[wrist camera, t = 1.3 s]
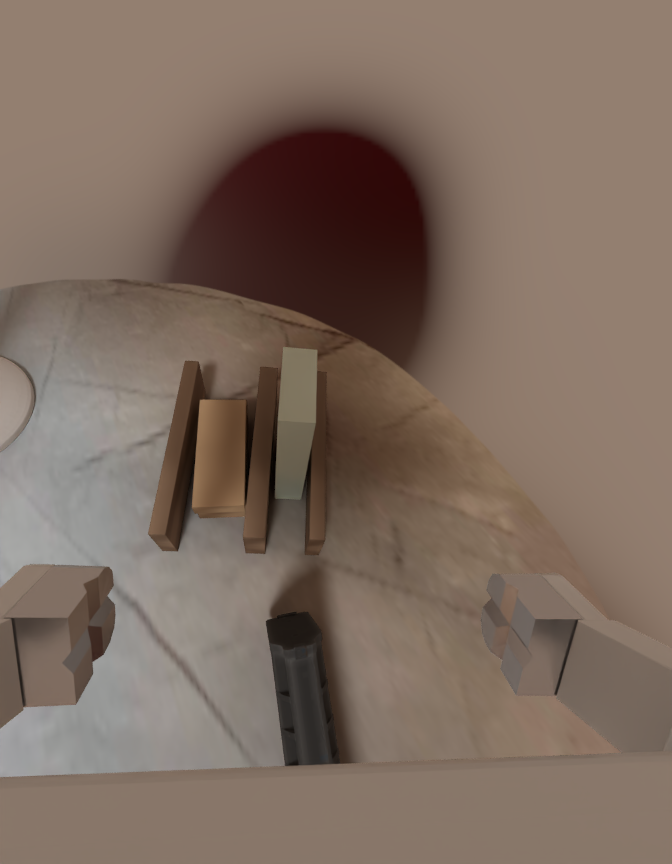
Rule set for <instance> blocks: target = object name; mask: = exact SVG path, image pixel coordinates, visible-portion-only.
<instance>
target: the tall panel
mask: <svg viewBox="0 0 672 864" xmlns="http://www.w3.org/2000/svg"><path fill="white" fill-rule="evenodd" d="M316 390H317V350H313V349H302V348H290V347H283V356H282V370H281V384H280V398H279V411H278V429H277V454H276V478H275V499H298V500H301V497H302V492H303V487H304V481H305V476H306V471H307V466H308V461H309V456H310V450H311V445H312V440H313V435H314V430H315V425H316Z"/></svg>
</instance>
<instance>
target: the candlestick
mask: <svg viewBox="0 0 672 864" xmlns="http://www.w3.org/2000/svg"><path fill="white" fill-rule="evenodd" d="M34 399H35V398H34V390H33V386H32V384H31V382H30V380H29V378H28V377H27V376H26V374H25V373H24V372H23V371H22V370H21V369H20V368H19V367H18V366H17V365H16V364H14V363H13V362H11V361H9V360H7V359H5V358H3V357H0V452H1V451H2V450H4V449H5V448H6V447H8V446H9V445H10V444H11V443H12V442H13V441H14V440H15V439H16V438H17V437H18V436H19V434H20V433H21V432H22V431H23V429H24V428H25V426H26V425H27V423H28V421H29V419H30V417H31V414H32V411H33V407H34Z"/></svg>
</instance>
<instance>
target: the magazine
mask: <svg viewBox="0 0 672 864" xmlns="http://www.w3.org/2000/svg"><path fill="white" fill-rule="evenodd" d="M266 626H267V633H268V639H269V645H270V651H271V656H272V663H273V672H274V680H275V688H276V696H277V704H278V712H279V720H280V728H281V736H282V744H283V752H284V760H285V766H298V765H323V764H340V759H339V749H338V747H337V740H336V734H335V728H334V722H333V720H334V719H333V714H332V710H331V703H330V697H329V691H328V681H327V678H326V671H325V665H324V658H323V651H322V645H321V641H322V634H321V630H320V629H319V627H318V626H317V624H316V623H315V622H314V620H313V619H312V617H311V616H310V614H309V613H308V612H302V613H296V612H293V613H288V614H283V615H278V616H277V618H274V619H269V620H267V621H266Z"/></svg>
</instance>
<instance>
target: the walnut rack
mask: <svg viewBox="0 0 672 864" xmlns="http://www.w3.org/2000/svg"><path fill="white" fill-rule="evenodd" d="M326 373H327V372H320V371H317V390H316V425H315V430H314V435H313V440H312V445H311V450H310V456H309V461H308V466H307V497H306V529H305V555H319V553H320V551H321V548H322V546H323V544H324V541H325V507H326ZM277 376H278V368H270V367H260V376H259V386H258V395H257V405H256V415H255V425H254V434H253V444H252V454H251V464H250V473H249V483H248V493H247V502H246V512H245V522H244V532H243V540H244V546H245V551H246V553H260V554H265V546H266V533H267V520H268V507H269V494H270V480H271V467H272V454H273V441H274V428H275V415H276V401H277ZM204 398H205V388H204V384H203V379H202V375H201V370H200V366H199V362H197V361H185V363H184V368H183V372H182V377H181V382H180V387H179V391H178V396H177V401H176V405H175V410H174V415H173V419H172V424H171V429H170V433H169V438H168V443H167V447H166V452H165V457H164V461H163V466H162V471H161V475H160V480H159V485H158V490H157V494H156V499H155V504H154V508H153V513H152V518H151V522H150V527H149V532H148V535H149V536H150V537H151V538H152V539H153V540H154V541H155V543H156V544H157V545H158V546H159V547H160V548H161V549H162V551H178V546H179V541H180V535H181V529H182V523H183V518H184V512H185V506H186V501H187V495H188V489H189V484H190V478H191V472H192V467H193V461H194V455H195V449H196V444H197V432H198V418H199V405H200V400H204Z"/></svg>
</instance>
